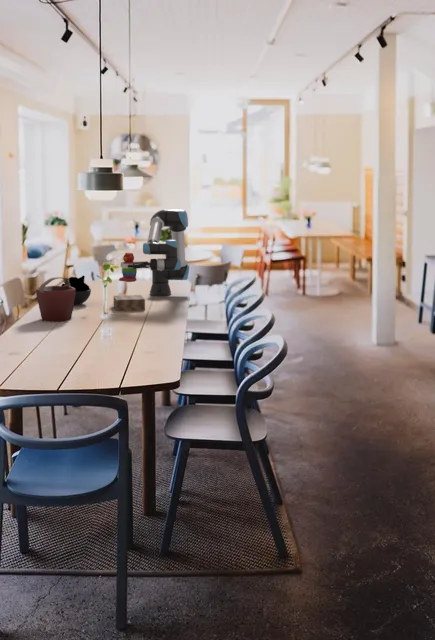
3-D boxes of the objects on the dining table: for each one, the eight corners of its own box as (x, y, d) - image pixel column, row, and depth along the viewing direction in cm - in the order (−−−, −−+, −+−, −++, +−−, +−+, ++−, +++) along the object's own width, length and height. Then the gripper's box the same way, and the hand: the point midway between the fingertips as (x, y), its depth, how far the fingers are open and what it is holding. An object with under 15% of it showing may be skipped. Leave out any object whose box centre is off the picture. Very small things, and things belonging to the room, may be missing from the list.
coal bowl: (63, 307, 508) (62, 278, 505) (58, 303, 527) (57, 275, 523) (94, 306, 516) (93, 277, 512) (87, 301, 534) (87, 273, 530)
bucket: (64, 314, 484) (63, 274, 480) (85, 319, 469) (84, 277, 464) (29, 319, 468) (27, 277, 463) (49, 324, 452) (47, 281, 448)
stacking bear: (117, 280, 505) (116, 252, 502) (129, 279, 512) (129, 251, 509) (128, 282, 498) (128, 254, 495) (140, 280, 505) (140, 253, 502)
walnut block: (141, 305, 519) (141, 294, 518) (145, 310, 502) (144, 299, 501) (113, 306, 515) (113, 295, 514) (116, 311, 498) (116, 300, 497)
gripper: (159, 272, 498) (123, 273, 493) (154, 268, 519) (119, 269, 513) (159, 260, 497) (123, 261, 492) (154, 256, 517) (119, 257, 512)
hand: (121, 265), depth 503 cm, fingers closed on stacking bear, 9 cm apart
